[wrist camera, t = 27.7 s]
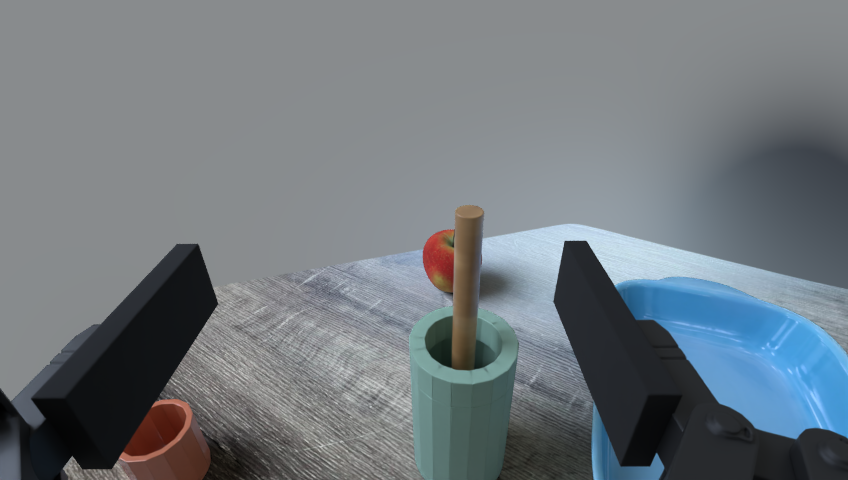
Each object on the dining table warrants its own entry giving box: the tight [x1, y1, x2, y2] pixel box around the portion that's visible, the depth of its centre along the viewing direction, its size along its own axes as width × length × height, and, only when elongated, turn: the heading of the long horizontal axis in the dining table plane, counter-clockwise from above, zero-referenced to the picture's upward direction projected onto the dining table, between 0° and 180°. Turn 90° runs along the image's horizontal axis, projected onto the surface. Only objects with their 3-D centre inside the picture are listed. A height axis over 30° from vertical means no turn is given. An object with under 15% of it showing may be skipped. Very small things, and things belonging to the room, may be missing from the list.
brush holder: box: [118, 399, 211, 480], centre depth 37 cm, size 6×6×6 cm
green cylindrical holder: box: [409, 306, 519, 480], centre depth 36 cm, size 8×8×14 cm
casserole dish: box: [591, 277, 848, 480], centre depth 37 cm, size 37×22×7 cm, turn 159°
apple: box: [423, 229, 482, 292], centre depth 59 cm, size 8×8×10 cm
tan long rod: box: [452, 205, 484, 371], centre depth 33 cm, size 4×4×24 cm
